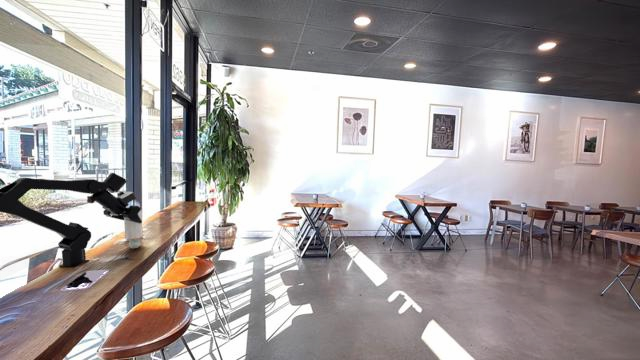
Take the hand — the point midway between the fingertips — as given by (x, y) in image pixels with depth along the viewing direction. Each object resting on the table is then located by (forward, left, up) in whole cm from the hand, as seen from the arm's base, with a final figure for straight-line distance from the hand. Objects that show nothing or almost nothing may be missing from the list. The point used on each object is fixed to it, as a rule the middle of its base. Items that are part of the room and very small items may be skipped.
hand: (136, 221), depth 132 cm
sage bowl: (-1, 0, -11) cm, 12 cm away
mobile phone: (-36, -7, -12) cm, 38 cm away
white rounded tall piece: (-1, +1, -7) cm, 7 cm away
